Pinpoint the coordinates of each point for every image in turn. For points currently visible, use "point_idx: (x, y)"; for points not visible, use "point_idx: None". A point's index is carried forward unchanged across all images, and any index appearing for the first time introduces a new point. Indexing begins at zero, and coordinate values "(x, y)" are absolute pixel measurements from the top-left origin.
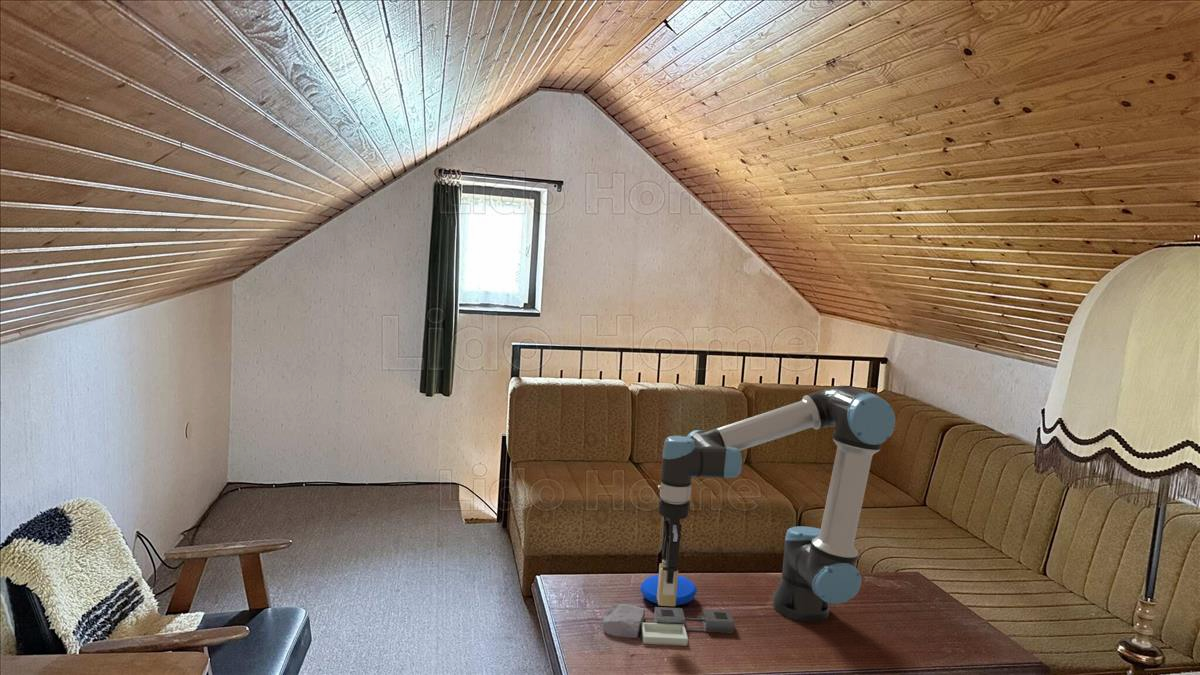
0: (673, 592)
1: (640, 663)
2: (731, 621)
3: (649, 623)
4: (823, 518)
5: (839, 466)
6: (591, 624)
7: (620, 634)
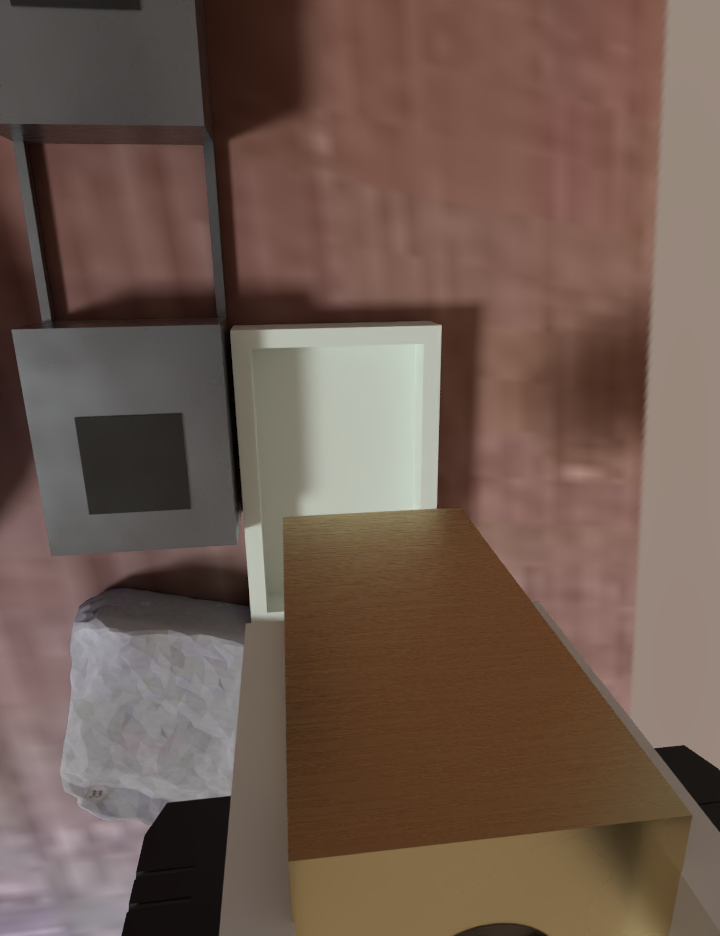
0: (553, 624)
1: (617, 604)
2: None
3: (258, 577)
4: None
5: None
6: None
7: None
